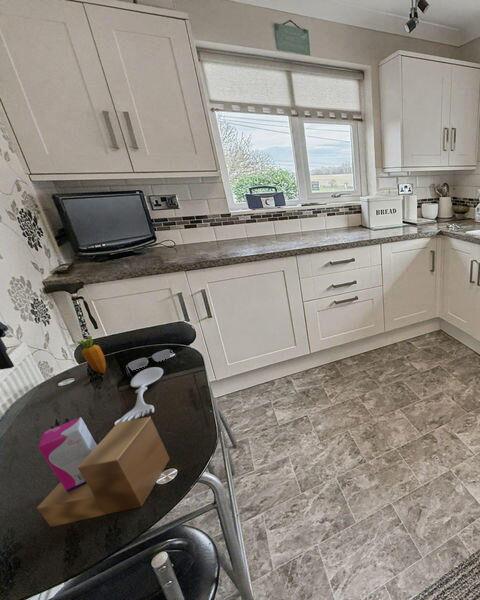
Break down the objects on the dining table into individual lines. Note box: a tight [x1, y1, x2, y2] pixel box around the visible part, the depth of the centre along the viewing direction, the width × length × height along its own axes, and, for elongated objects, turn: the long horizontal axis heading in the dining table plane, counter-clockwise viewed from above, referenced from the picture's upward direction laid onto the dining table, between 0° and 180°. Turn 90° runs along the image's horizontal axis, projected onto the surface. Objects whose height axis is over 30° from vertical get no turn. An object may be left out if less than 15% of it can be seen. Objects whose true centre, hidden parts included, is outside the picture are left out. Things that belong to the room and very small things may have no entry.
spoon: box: [114, 366, 164, 426], centre depth 100 cm, size 9×32×4 cm, turn 32°
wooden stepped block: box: [36, 416, 171, 528], centre depth 67 cm, size 16×12×12 cm
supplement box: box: [37, 416, 98, 492], centre depth 64 cm, size 6×6×12 cm
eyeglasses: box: [125, 349, 178, 378], centre depth 117 cm, size 14×8×4 cm, turn 135°
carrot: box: [76, 335, 107, 375], centre depth 115 cm, size 5×5×15 cm
